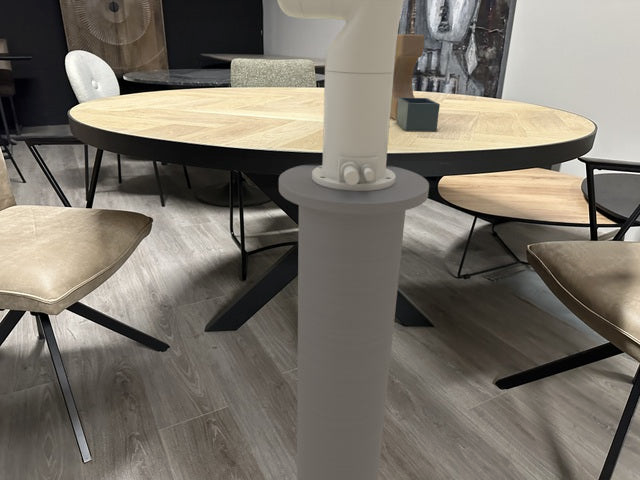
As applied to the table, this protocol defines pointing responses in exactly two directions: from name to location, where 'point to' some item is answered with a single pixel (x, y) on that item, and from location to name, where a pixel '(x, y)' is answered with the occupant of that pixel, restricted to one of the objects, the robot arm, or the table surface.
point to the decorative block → (405, 67)
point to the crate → (417, 114)
